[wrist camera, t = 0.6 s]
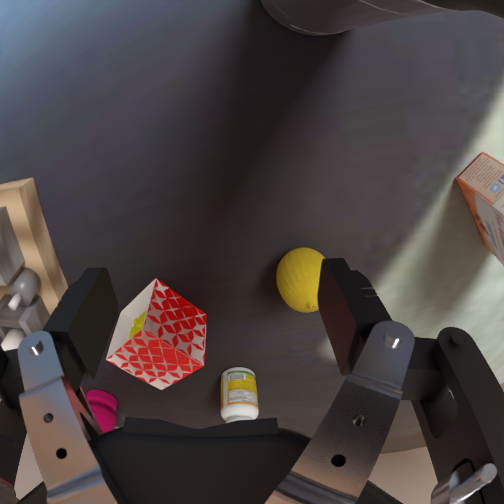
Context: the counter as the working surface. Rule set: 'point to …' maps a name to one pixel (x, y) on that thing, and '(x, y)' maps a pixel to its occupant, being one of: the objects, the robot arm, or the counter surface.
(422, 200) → the counter surface
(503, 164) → the cracker box
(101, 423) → the pepper mill
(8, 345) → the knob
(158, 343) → the red patterned cube box
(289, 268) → the lemon
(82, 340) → the robot arm
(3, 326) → the mount
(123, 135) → the counter surface
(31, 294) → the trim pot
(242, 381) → the supplement bottle
